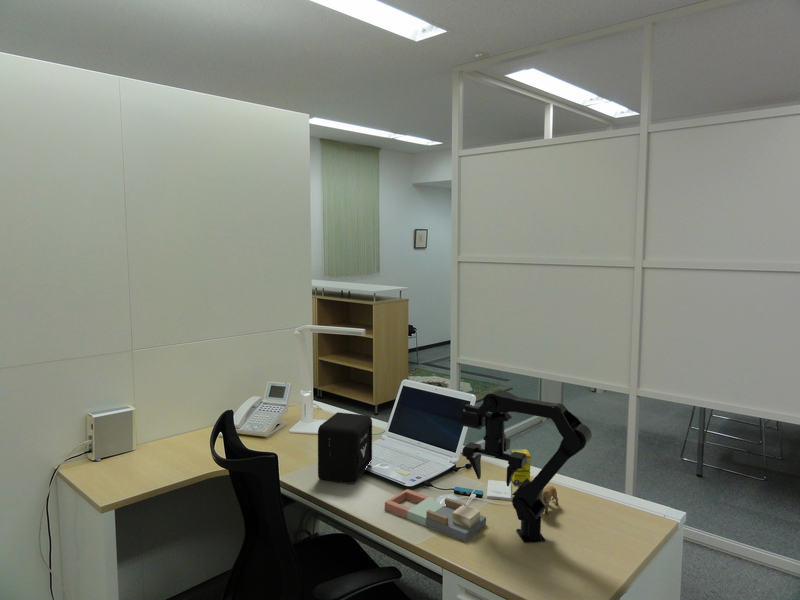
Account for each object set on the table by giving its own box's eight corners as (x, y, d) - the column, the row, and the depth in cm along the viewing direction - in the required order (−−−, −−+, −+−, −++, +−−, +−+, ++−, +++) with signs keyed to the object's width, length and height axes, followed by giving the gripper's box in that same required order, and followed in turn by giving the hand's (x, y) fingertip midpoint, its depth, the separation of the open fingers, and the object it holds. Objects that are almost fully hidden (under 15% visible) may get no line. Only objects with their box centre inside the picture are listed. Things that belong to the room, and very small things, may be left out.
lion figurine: (549, 521, 163) (550, 494, 162) (532, 517, 166) (533, 490, 165) (560, 502, 176) (561, 476, 175) (544, 498, 179) (545, 472, 178)
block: (479, 520, 159) (480, 510, 158) (469, 528, 154) (470, 518, 154) (462, 514, 162) (462, 504, 162) (452, 522, 157) (452, 512, 157)
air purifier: (355, 486, 186) (355, 431, 184) (317, 481, 190) (317, 427, 188) (374, 464, 205) (374, 414, 203) (339, 459, 209) (339, 410, 207)
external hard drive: (511, 486, 189) (511, 502, 177) (487, 484, 190) (486, 499, 178) (511, 481, 189) (511, 497, 177) (487, 479, 190) (486, 495, 178)
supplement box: (513, 484, 189) (514, 455, 188) (509, 477, 195) (510, 448, 194) (530, 484, 189) (531, 455, 188) (525, 477, 195) (526, 449, 194)
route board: (485, 524, 161) (486, 510, 160) (465, 541, 151) (466, 526, 151) (407, 496, 179) (407, 483, 179) (384, 509, 170) (384, 496, 169)
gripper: (533, 430, 161) (531, 479, 162) (476, 419, 170) (475, 466, 172) (521, 441, 151) (520, 493, 153) (461, 429, 161) (461, 479, 162)
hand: (493, 482), depth 160 cm, fingers open, 9 cm apart
